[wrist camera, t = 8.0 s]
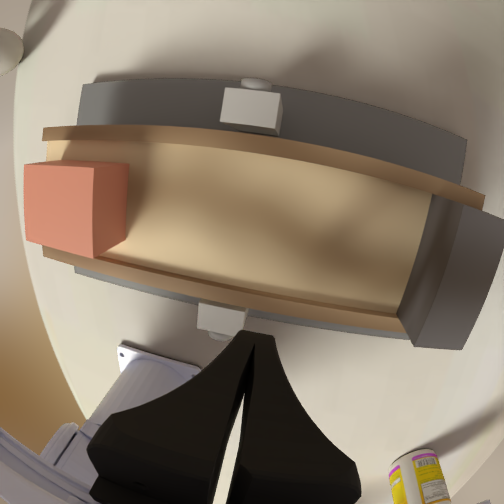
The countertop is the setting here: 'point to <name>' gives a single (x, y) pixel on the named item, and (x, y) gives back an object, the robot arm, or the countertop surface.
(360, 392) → the countertop surface
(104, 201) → the block
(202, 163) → the beam
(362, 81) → the countertop surface
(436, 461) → the supplement bottle
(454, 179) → the tilt stand
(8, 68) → the donut
